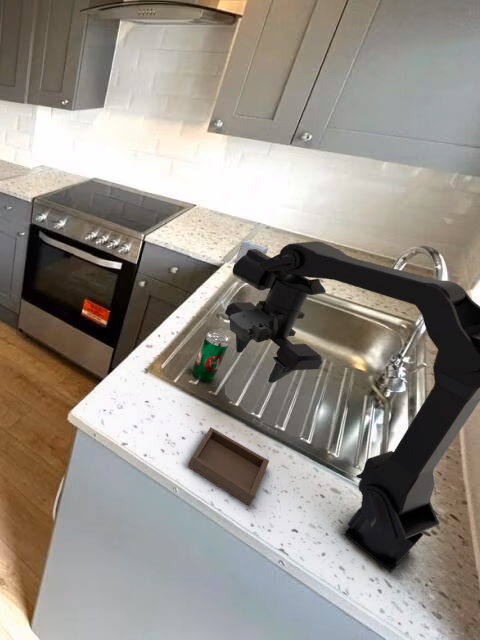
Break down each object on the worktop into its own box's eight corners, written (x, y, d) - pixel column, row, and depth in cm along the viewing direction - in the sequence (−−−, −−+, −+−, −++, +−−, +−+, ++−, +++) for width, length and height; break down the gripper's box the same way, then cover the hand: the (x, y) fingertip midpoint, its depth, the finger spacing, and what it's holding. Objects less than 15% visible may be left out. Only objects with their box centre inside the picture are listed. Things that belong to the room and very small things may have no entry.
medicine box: (260, 267, 163) (269, 247, 159) (255, 270, 161) (263, 249, 157) (239, 259, 169) (247, 239, 165) (234, 261, 167) (241, 241, 163)
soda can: (194, 366, 108) (208, 327, 103) (215, 375, 106) (232, 336, 100) (188, 376, 105) (203, 336, 99) (211, 386, 102) (227, 346, 97)
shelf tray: (264, 469, 82) (269, 460, 81) (249, 505, 75) (254, 496, 74) (206, 435, 88) (210, 426, 87) (187, 466, 82) (191, 456, 80)
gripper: (214, 279, 89) (192, 339, 96) (284, 333, 72) (251, 402, 79) (262, 278, 90) (236, 338, 97) (341, 332, 74) (304, 399, 81)
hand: (254, 366), depth 89 cm, fingers open, 9 cm apart
